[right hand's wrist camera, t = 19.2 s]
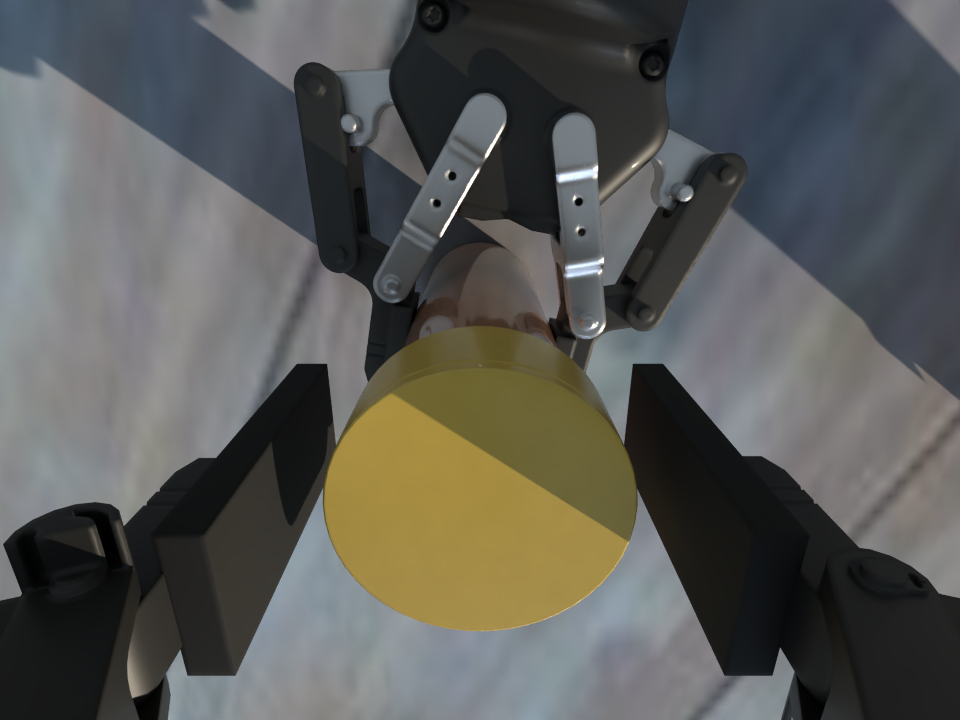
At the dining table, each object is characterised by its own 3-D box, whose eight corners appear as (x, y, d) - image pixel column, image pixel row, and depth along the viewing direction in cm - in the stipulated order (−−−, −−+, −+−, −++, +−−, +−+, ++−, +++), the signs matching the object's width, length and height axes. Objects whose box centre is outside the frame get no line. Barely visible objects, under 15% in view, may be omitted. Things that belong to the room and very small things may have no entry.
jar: (409, 270, 25) (311, 434, 10) (506, 223, 24) (546, 332, 10) (455, 360, 27) (426, 611, 12) (548, 319, 26) (636, 535, 11)
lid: (547, 278, 11) (565, 310, 9) (645, 497, 13) (679, 572, 11) (301, 392, 12) (259, 449, 10) (426, 582, 14) (416, 667, 12)
